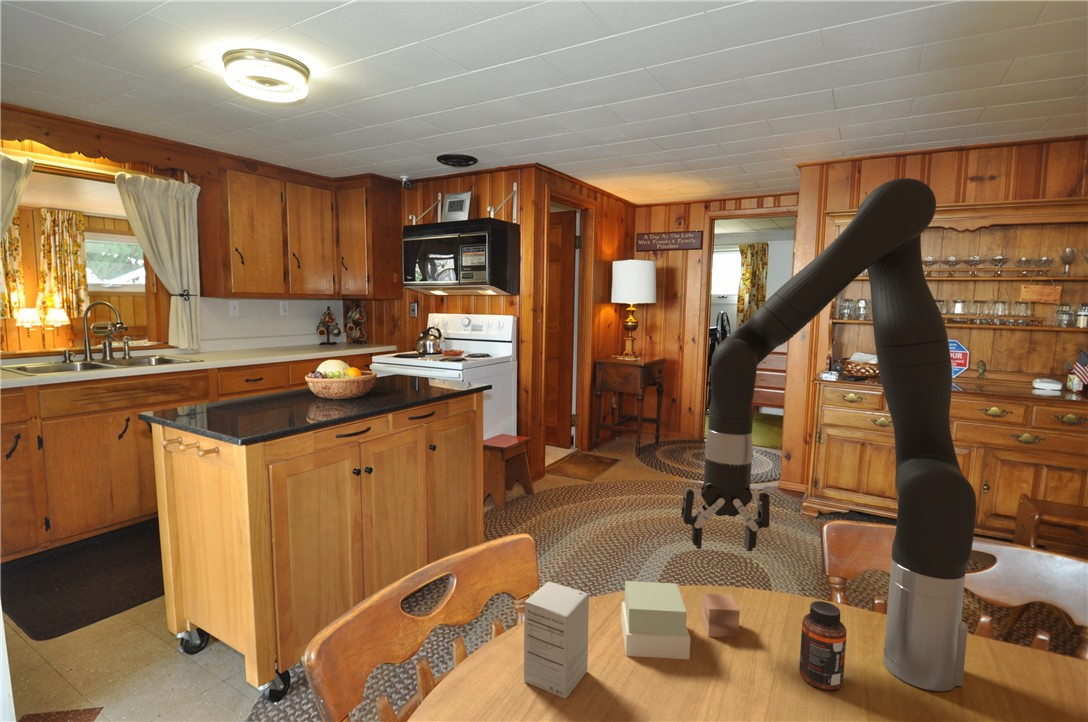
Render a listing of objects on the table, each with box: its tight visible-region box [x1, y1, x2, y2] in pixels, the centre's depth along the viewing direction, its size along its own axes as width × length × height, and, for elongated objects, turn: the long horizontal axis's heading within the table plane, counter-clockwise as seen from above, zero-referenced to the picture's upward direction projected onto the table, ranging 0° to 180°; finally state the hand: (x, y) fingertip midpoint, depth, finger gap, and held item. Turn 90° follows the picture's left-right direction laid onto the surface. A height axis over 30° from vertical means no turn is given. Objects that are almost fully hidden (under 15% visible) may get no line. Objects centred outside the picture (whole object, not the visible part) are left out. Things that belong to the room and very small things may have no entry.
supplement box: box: [523, 581, 590, 700], centre depth 81 cm, size 7×7×13 cm
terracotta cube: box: [701, 593, 741, 639], centre depth 94 cm, size 5×5×5 cm
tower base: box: [620, 600, 691, 660], centre depth 91 cm, size 10×10×4 cm
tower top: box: [624, 580, 688, 636], centre depth 91 cm, size 9×9×4 cm
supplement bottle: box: [799, 600, 847, 691], centre depth 81 cm, size 6×6×11 cm
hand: (722, 548), depth 93 cm, fingers open, 8 cm apart
